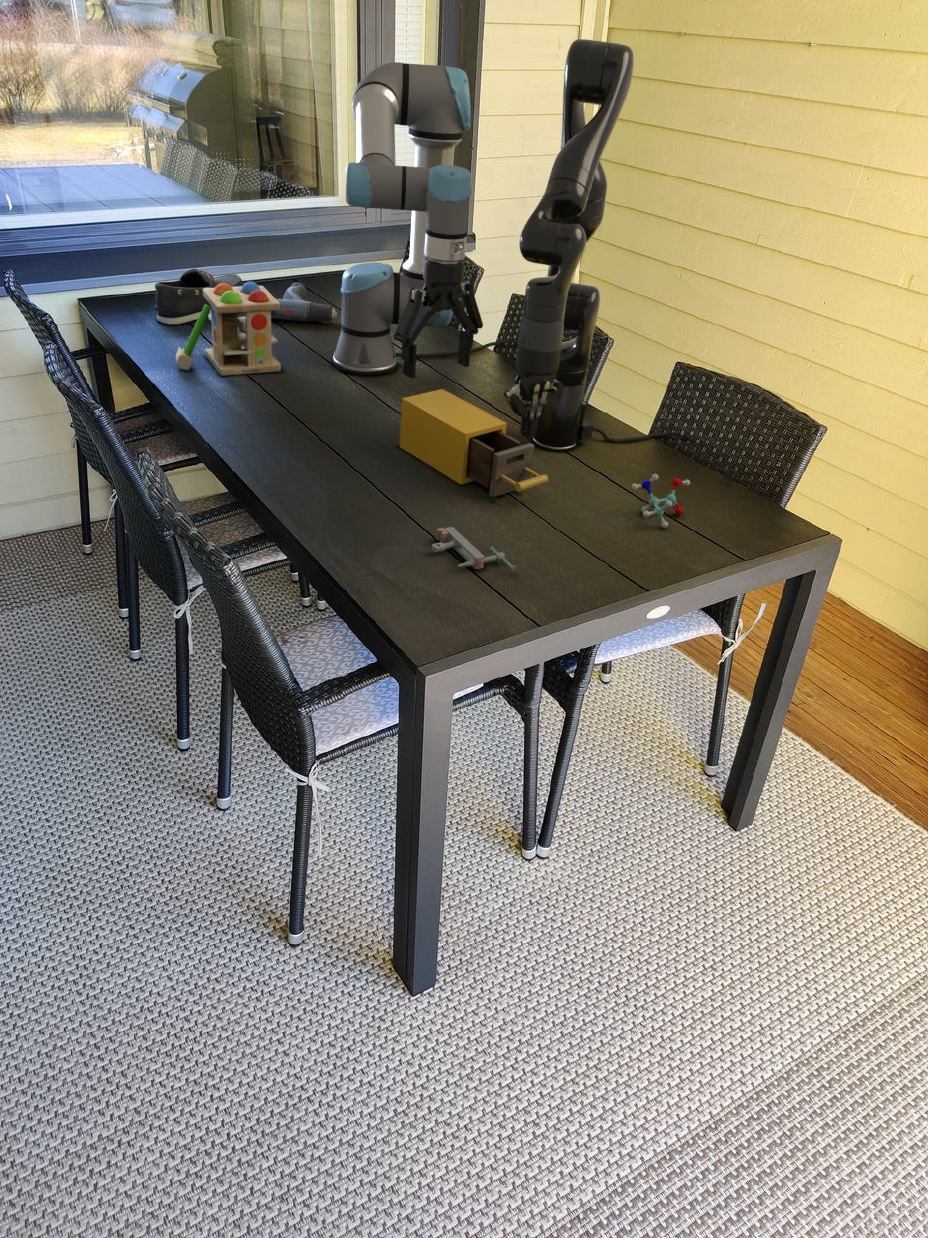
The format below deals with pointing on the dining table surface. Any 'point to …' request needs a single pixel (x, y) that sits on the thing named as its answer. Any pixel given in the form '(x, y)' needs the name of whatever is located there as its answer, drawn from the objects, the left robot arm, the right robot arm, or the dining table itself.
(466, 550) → the clamp
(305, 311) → the power drill
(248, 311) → the pounding bench toy
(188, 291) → the boat shoe
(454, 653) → the dining table surface
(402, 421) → the cabinet
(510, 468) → the drawer
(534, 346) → the right robot arm
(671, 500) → the molecular model
